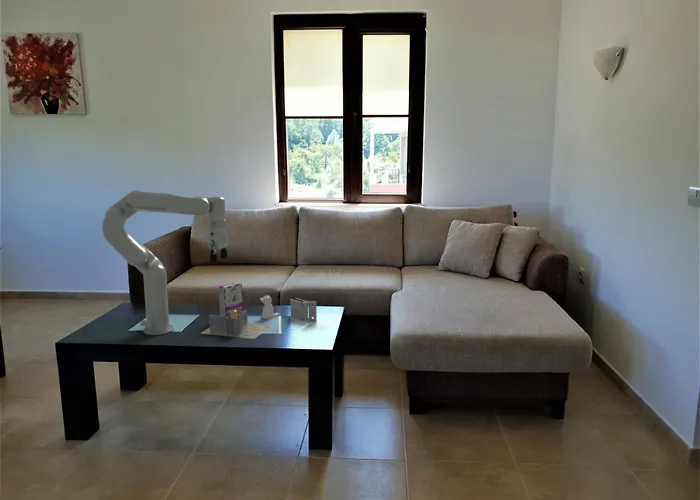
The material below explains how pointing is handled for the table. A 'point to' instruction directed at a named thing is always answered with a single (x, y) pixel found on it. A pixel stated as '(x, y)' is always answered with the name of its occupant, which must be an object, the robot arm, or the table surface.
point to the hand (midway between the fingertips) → (218, 260)
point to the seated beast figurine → (268, 308)
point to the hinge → (303, 310)
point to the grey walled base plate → (235, 326)
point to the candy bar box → (230, 298)
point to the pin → (233, 314)
